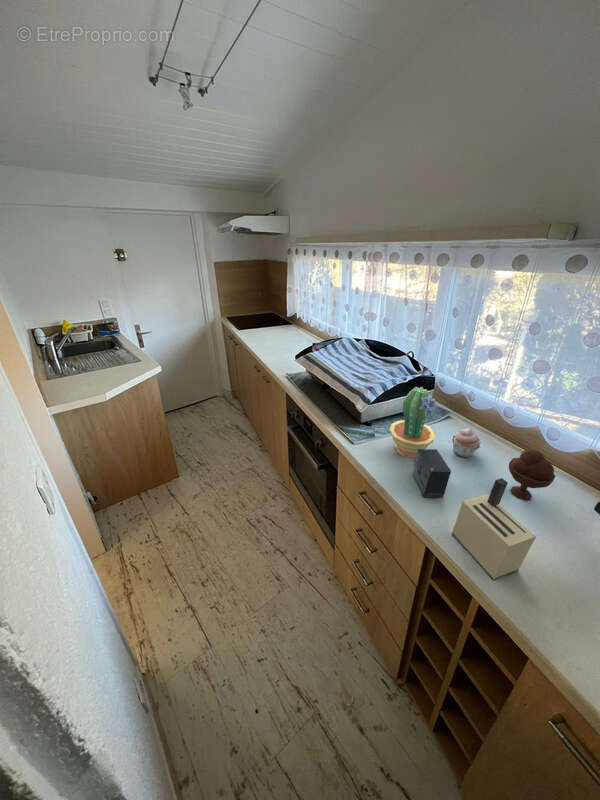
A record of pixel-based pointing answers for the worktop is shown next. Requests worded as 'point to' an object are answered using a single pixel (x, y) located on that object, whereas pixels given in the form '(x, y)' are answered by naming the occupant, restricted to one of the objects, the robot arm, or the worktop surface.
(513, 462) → the ice cream bowl
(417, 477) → the small box
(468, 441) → the cupcake
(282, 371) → the worktop surface
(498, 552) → the toaster
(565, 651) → the worktop surface
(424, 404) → the potted cactus
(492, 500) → the slider
